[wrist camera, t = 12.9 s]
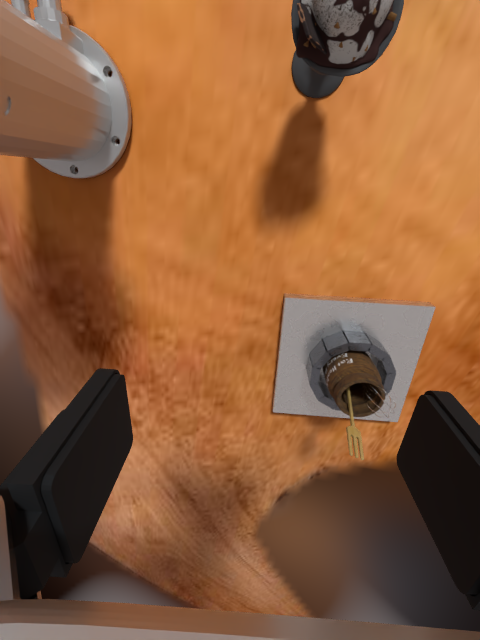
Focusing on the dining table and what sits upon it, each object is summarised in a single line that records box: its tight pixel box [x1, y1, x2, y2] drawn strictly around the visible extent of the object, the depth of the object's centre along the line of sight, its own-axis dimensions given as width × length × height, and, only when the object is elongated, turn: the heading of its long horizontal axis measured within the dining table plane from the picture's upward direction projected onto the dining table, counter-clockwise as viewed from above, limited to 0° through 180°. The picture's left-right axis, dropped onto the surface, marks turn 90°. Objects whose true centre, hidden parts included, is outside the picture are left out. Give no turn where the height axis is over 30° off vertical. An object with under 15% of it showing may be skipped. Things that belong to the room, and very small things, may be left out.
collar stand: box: [273, 293, 435, 422], centre depth 38 cm, size 17×17×4 cm
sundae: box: [291, 0, 404, 98], centre depth 21 cm, size 7×7×15 cm
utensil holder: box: [323, 350, 396, 460], centre depth 33 cm, size 6×6×12 cm
